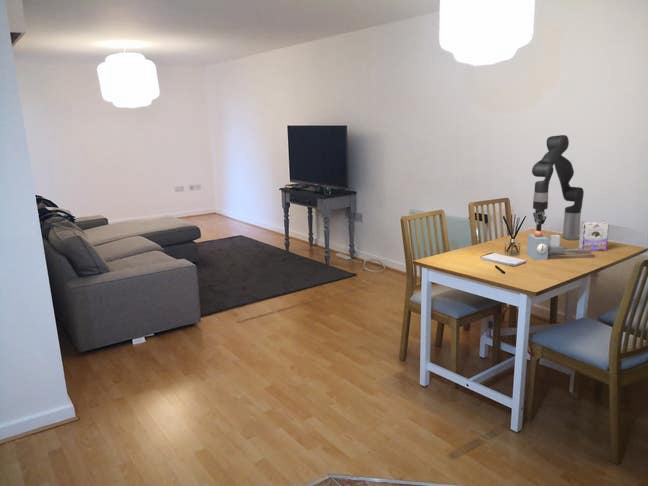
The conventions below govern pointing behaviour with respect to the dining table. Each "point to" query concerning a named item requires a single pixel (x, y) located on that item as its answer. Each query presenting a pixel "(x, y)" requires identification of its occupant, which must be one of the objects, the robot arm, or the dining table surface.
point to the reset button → (538, 233)
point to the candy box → (593, 235)
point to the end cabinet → (537, 247)
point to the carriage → (555, 244)
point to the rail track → (571, 254)
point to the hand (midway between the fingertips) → (538, 230)
